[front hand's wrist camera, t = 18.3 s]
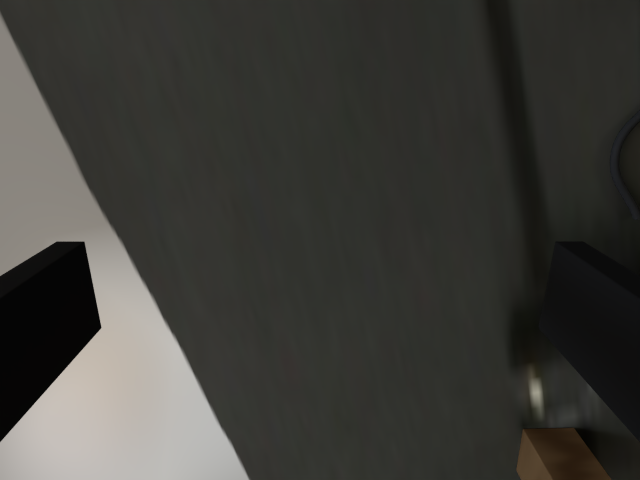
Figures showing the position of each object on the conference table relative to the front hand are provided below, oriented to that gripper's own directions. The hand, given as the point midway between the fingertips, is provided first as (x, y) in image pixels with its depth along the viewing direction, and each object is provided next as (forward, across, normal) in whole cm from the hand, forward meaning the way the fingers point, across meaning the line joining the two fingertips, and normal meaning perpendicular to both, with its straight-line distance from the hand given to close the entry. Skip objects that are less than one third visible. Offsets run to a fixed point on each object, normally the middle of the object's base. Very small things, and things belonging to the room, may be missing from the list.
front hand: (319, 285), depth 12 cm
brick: (+30, -28, +37) cm, 55 cm away
